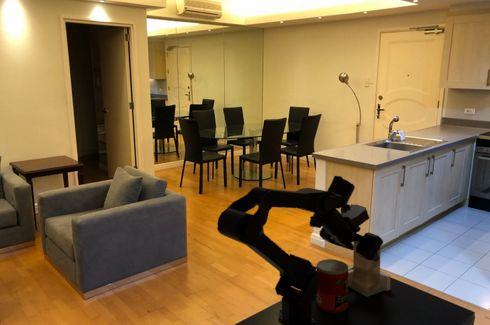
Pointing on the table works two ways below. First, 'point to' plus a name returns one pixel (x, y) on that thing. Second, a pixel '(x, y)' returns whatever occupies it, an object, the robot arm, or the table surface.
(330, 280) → the canned food
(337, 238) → the robot arm
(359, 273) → the maple block
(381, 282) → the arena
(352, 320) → the table surface
